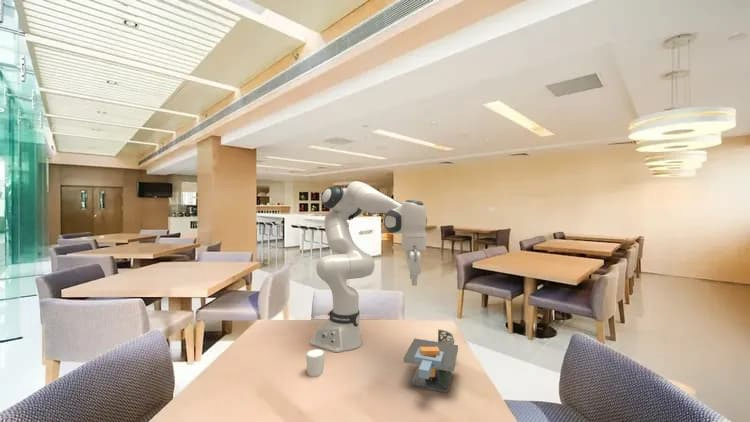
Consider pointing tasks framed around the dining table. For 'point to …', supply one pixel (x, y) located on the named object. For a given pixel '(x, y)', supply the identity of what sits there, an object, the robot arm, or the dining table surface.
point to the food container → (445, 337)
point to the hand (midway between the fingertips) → (413, 281)
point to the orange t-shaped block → (430, 355)
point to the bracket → (427, 363)
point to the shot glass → (315, 362)
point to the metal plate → (441, 376)
